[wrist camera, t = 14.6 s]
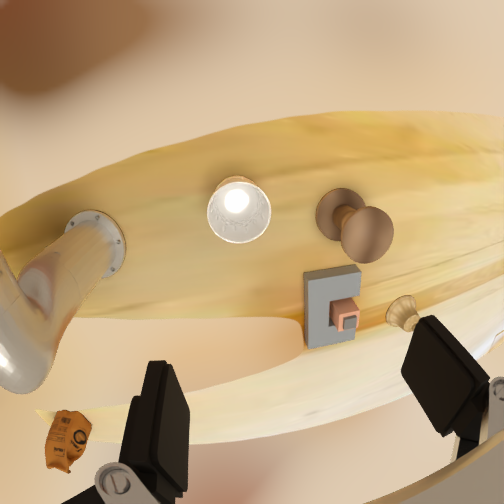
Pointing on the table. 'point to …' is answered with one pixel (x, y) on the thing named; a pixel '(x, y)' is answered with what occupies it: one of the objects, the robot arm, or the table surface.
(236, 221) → the white cup
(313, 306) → the notch board
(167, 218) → the table surface
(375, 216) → the bobbin
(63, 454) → the coffee package
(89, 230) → the robot arm
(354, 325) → the copper brown square peg
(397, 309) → the hand bell
